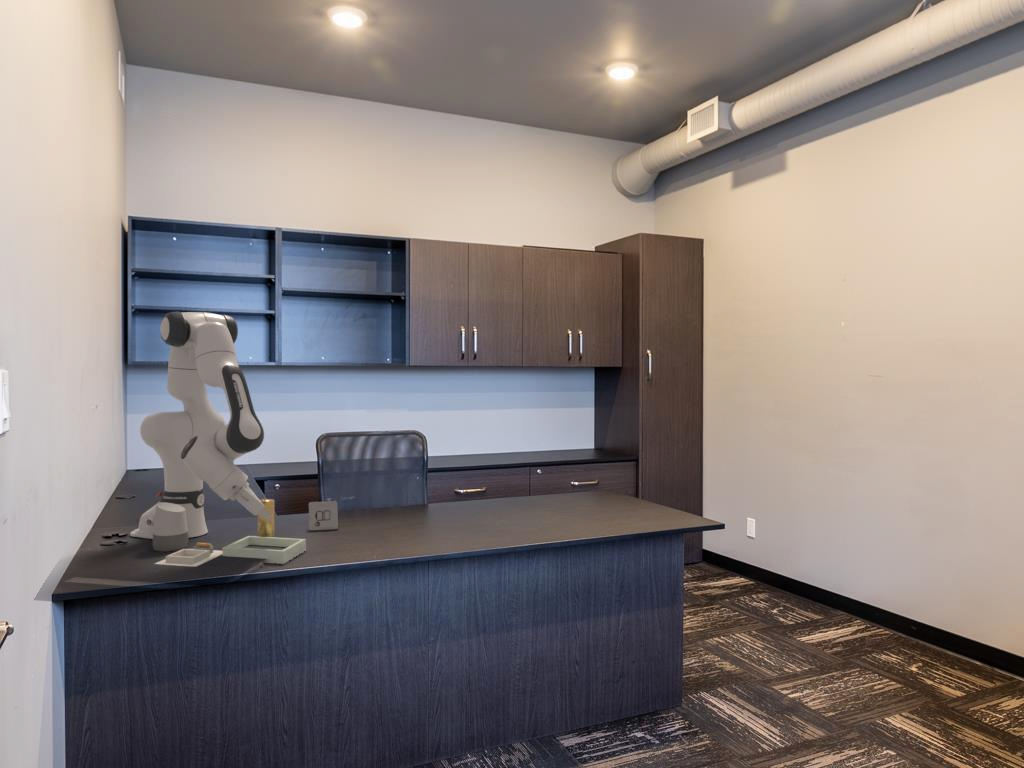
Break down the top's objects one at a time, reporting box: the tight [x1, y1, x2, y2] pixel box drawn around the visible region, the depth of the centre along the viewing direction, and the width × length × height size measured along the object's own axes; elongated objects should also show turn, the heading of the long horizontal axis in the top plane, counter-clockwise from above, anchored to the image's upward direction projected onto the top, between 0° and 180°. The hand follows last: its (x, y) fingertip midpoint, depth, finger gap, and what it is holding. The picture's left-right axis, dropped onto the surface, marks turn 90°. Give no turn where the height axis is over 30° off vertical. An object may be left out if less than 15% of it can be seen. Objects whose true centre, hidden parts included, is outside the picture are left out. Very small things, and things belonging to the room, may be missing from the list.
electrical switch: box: [308, 500, 339, 532], centre depth 237 cm, size 9×5×9 cm, turn 110°
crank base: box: [154, 542, 223, 567], centre depth 195 cm, size 12×16×4 cm
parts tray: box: [221, 535, 307, 565], centre depth 202 cm, size 18×14×4 cm
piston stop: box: [257, 498, 275, 537], centre depth 202 cm, size 4×4×10 cm
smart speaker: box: [152, 502, 189, 553], centre depth 204 cm, size 10×9×14 cm
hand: (268, 516), depth 202 cm, fingers closed on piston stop, 4 cm apart
